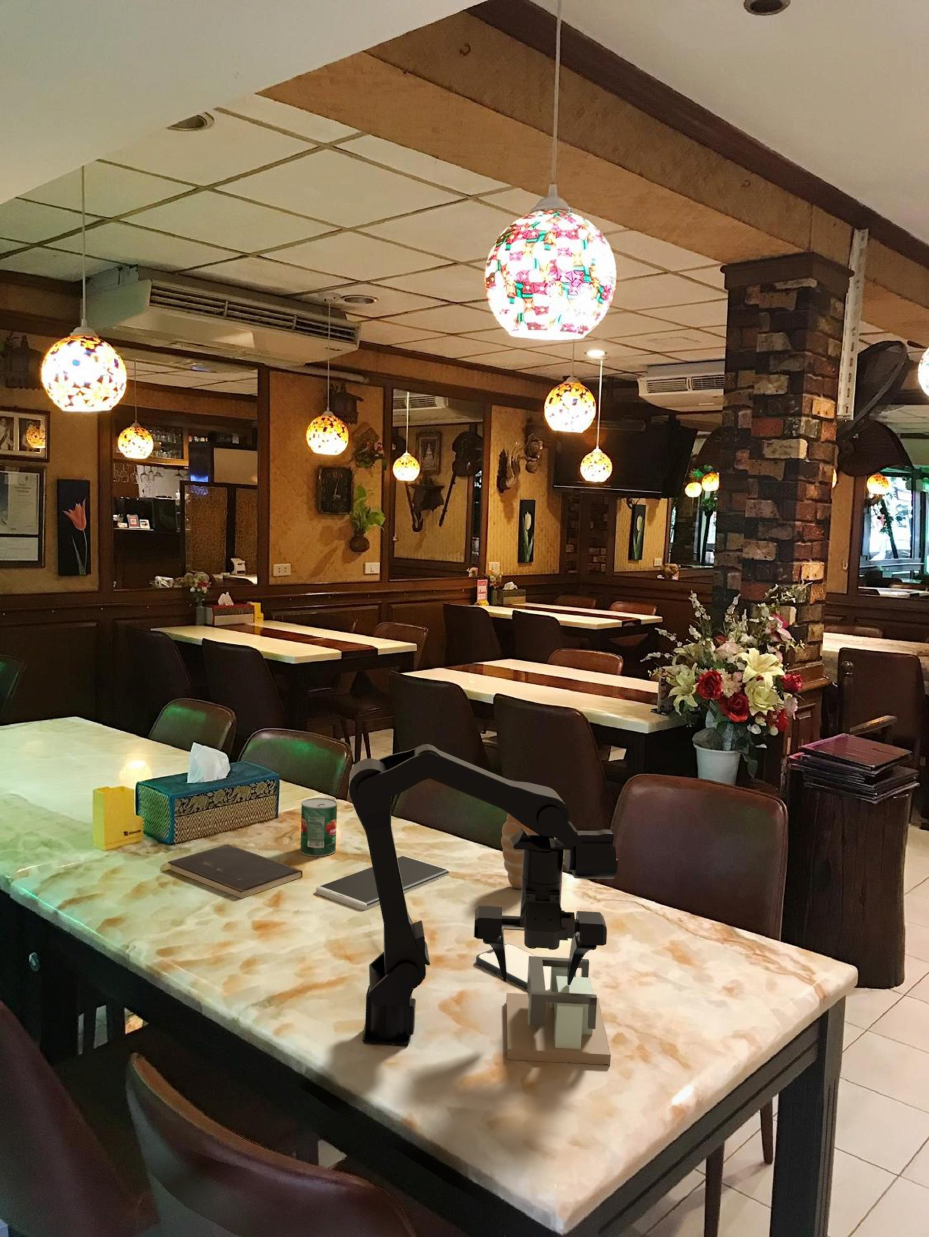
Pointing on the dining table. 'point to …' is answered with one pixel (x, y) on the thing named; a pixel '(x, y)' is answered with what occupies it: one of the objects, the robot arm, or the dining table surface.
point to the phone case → (512, 965)
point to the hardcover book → (234, 870)
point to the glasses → (540, 995)
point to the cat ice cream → (513, 851)
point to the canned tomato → (318, 827)
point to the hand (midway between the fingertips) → (536, 982)
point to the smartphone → (362, 884)
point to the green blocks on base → (557, 1027)
